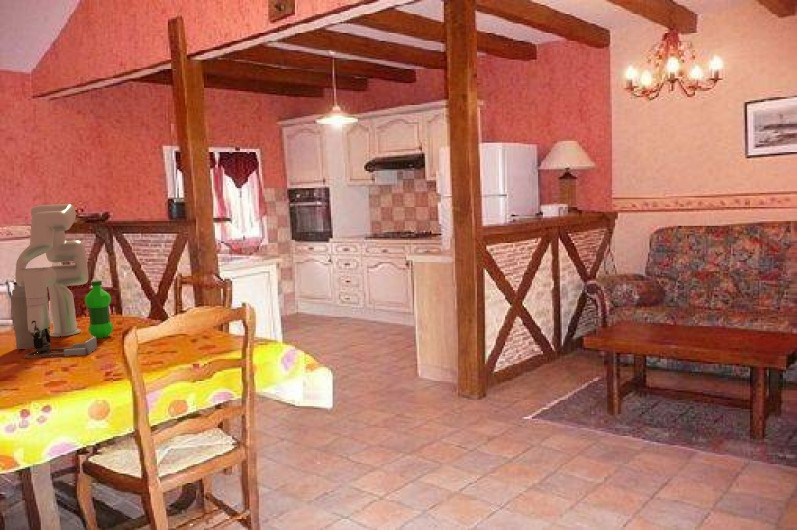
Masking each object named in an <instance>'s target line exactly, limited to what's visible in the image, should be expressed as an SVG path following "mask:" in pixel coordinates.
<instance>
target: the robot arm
mask: <svg viewBox="0 0 797 530" xmlns="http://www.w3.org/2000/svg"><path fill="white" fill-rule="evenodd" d="M30 215H31V219H30V220H31V224H30V236H29V237H30V239H29V245H28V246H27V247H25V249H24V250H23V251H21V253H20V255H19V256H18V258H17V259H16V263H15V271H14V272H15V273H14V274H15V275H14V276H15V282H16V283H17V285H18V286H20V287H25V293H26V302H27V307H28V308H27V322H28V331H29V332H30V333H31V334H32V336H33V341H34V348H33V349H34V350H36V349H38V348H43V339H42V338H41V332H42V330H44V329H45V334H47V335H46V340H47V342H48V343H51V344H52V342H51V337H52V338H53V337H58V338H59V337H60V336H61V337H68V336H74V335H77V334H80V333H82V330H81V328H78V327H77V326H78V324H79V323H78V321H77V318H76V310H75V309H76V308H75V301H74V294H73V292H72V291H71V290H70V289H69V288H68V287H69V286H81V285H82V286H83V285H85V284H87V283H88V281H89V269H88V261H87V252H86V247H85V245H84V243H83V242H82V241H80V240H76V239H75V240H67V239H66V234H65V232H66V231H68V230H70V229H71V228H72V225H74V222H75V221H76V217H77V212H76V209H75V207H74V205H72V204H70V203H61V204H60V203H58V204H41V205H35V206H33V207H32V208H31V209H30ZM44 254H45V255H46V258H47V261H48V262H50V263H56V264H55V265H52V266H45V267H30V268H29V267H28V268H26V267H27V266H28V264H29V263H30V262H31V261H32V260H34V259H36V258H37V257H40V256H41V255H44ZM70 262H71V263H74V264H59V265H57V263H70ZM48 293H49V294H48ZM48 296H49V297H48ZM49 301H50V303H49ZM49 304H50V310H49ZM50 311H51V315H50ZM51 320H52V327H53V328H52V330H53V331H51V332H50V328H51V327H50V326H51ZM36 329H39V330H37V331H35V330H36ZM36 332H39V335H38V333H36Z"/></svg>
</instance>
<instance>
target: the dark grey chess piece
mask: <svg viewBox="0 0 797 530" xmlns="http://www.w3.org/2000/svg"><path fill="white" fill-rule="evenodd" d="M37 330H39V329H37ZM37 333H38V335H39V332H37ZM46 335H47V334H45V329H44V330H42V332H41V338H42V339H43V348H38V349H35V350H37V351H40V352H38V353H36V354H35V355H37V354H52V352H51V351H46V350H48V349H51V348H50V347H51V344H52V342H51V343H48V342H47V340H46Z"/></svg>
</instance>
